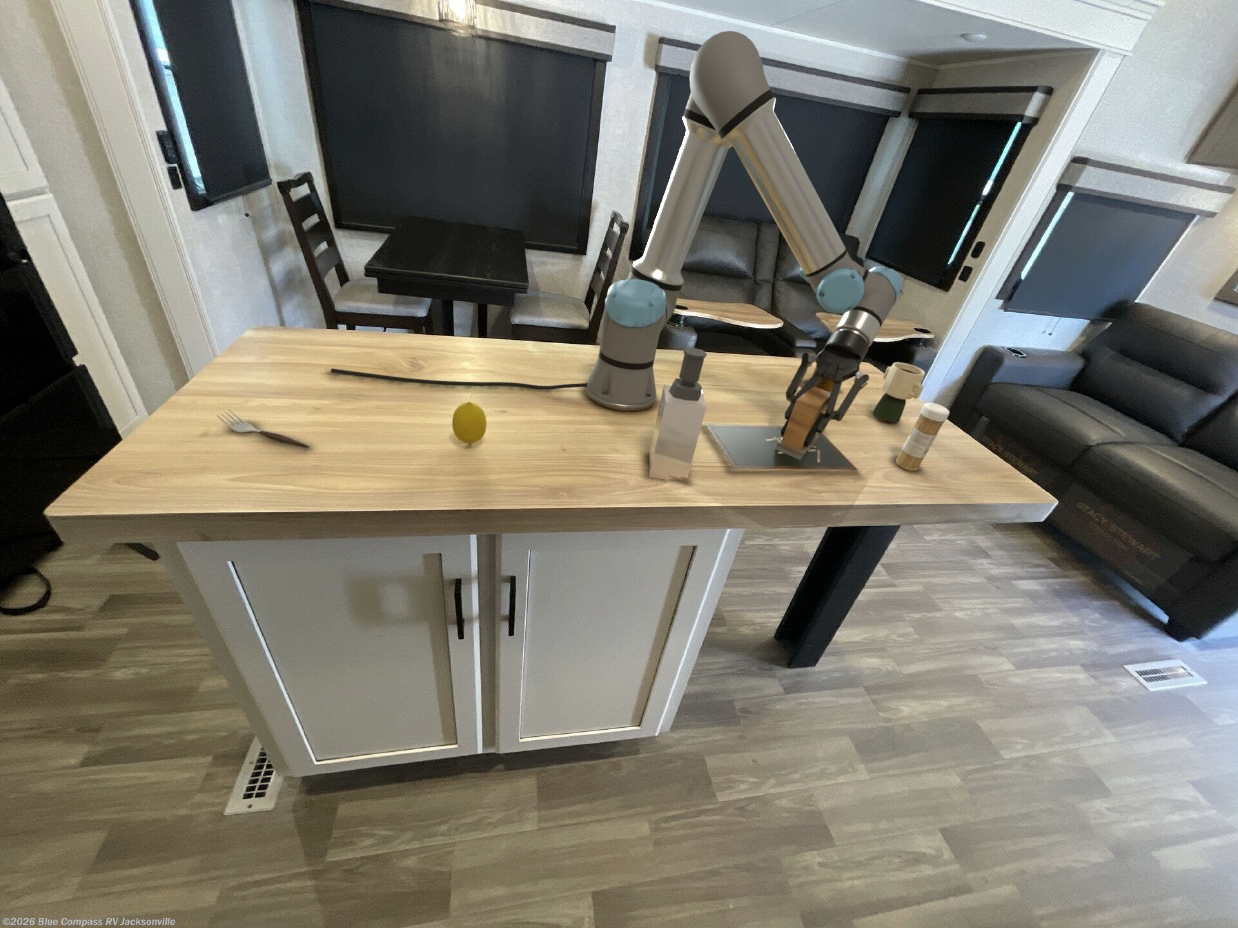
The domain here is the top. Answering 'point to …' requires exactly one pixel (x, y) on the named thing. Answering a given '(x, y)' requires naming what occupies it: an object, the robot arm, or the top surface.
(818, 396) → the eraser
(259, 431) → the fork
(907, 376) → the cream and green goblet
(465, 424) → the lemon
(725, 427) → the chalkboard
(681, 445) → the soap dispenser
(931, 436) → the sprinkles bottle
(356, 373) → the robot arm
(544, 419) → the top surface
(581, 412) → the top surface
